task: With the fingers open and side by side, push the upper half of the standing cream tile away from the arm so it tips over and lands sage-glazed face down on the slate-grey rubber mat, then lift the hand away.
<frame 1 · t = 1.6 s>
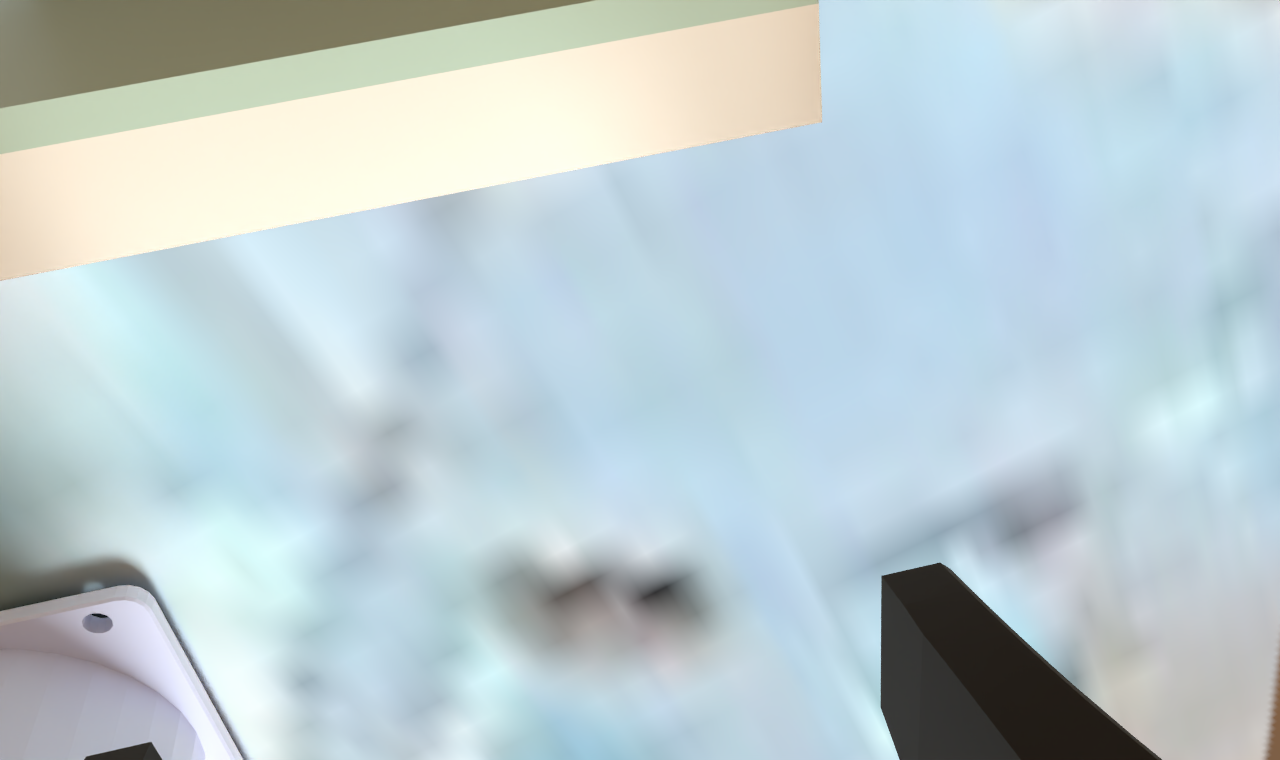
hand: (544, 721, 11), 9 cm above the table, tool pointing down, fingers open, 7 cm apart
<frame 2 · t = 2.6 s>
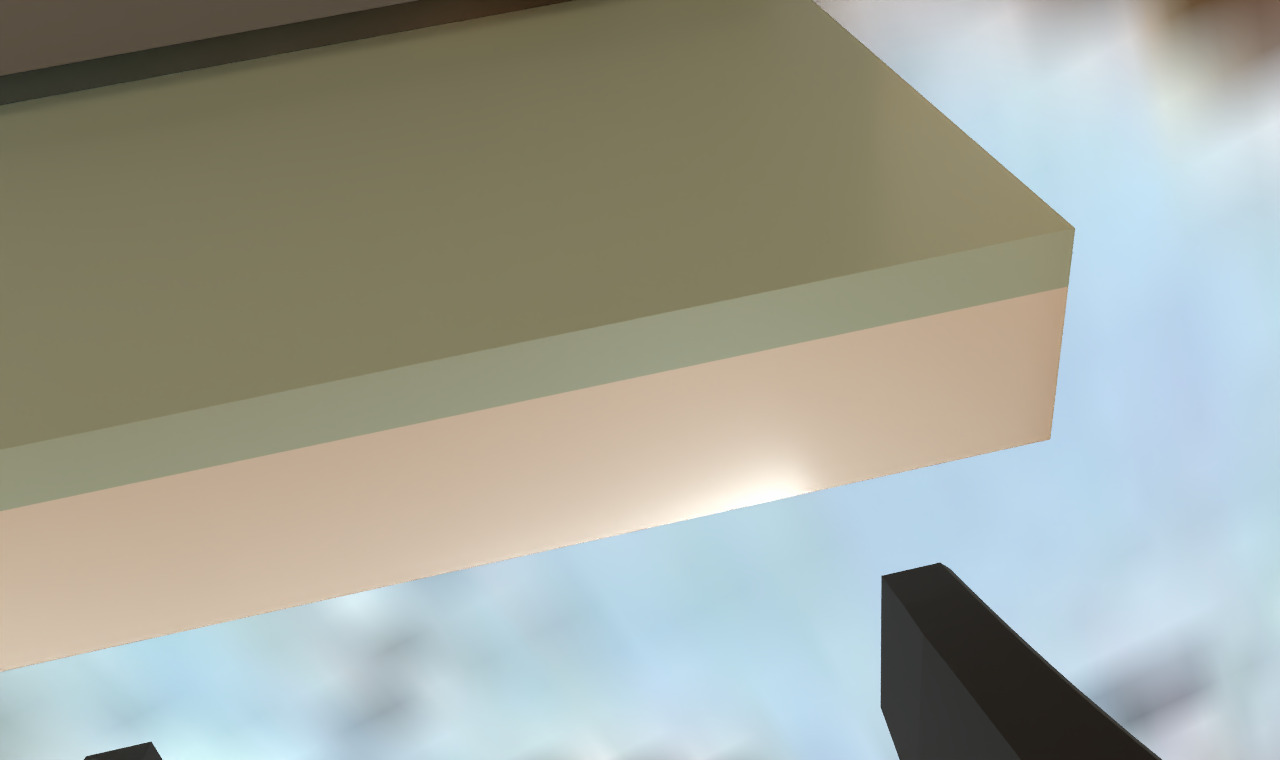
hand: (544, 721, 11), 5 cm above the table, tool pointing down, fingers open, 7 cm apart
tile: (373, 112, 12), on the table
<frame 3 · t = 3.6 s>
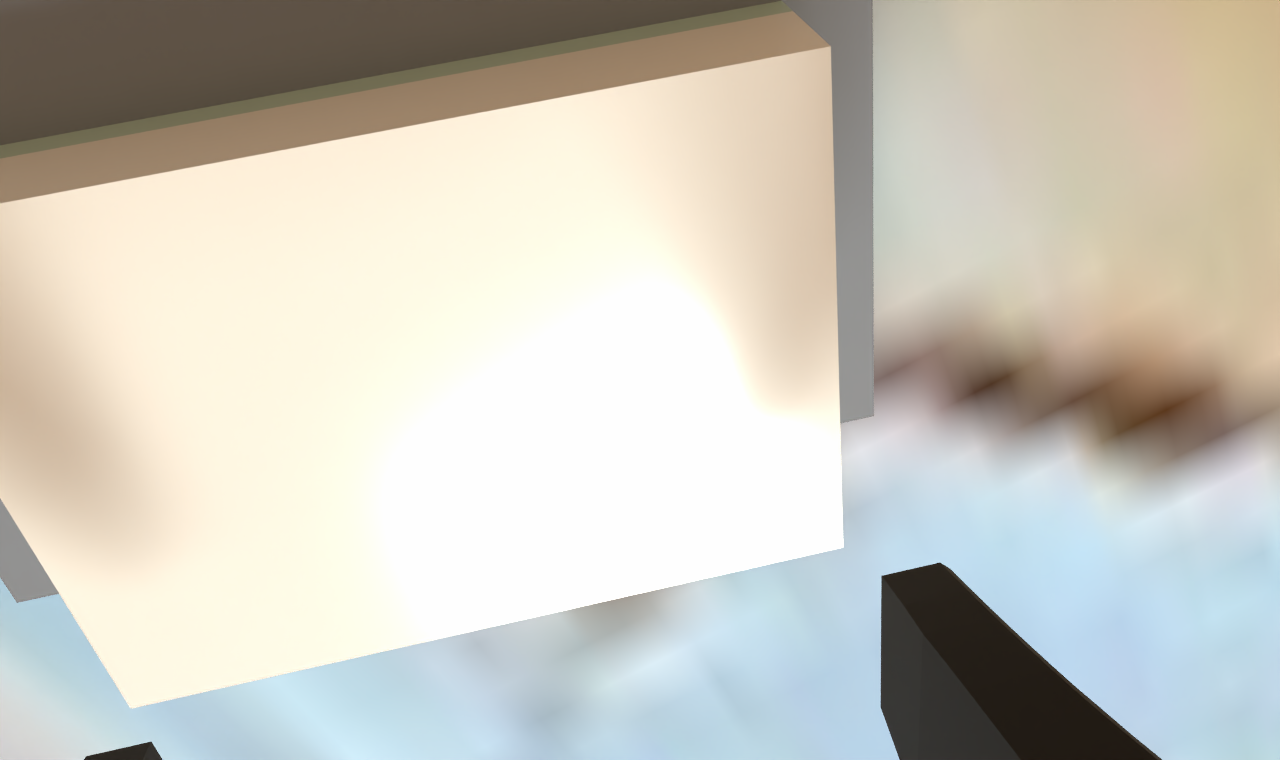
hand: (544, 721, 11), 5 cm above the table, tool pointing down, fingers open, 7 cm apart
mat: (357, 152, 12), on the table
tile: (491, 580, 14), point 1 cm above the table, tilted 90°, touching mat
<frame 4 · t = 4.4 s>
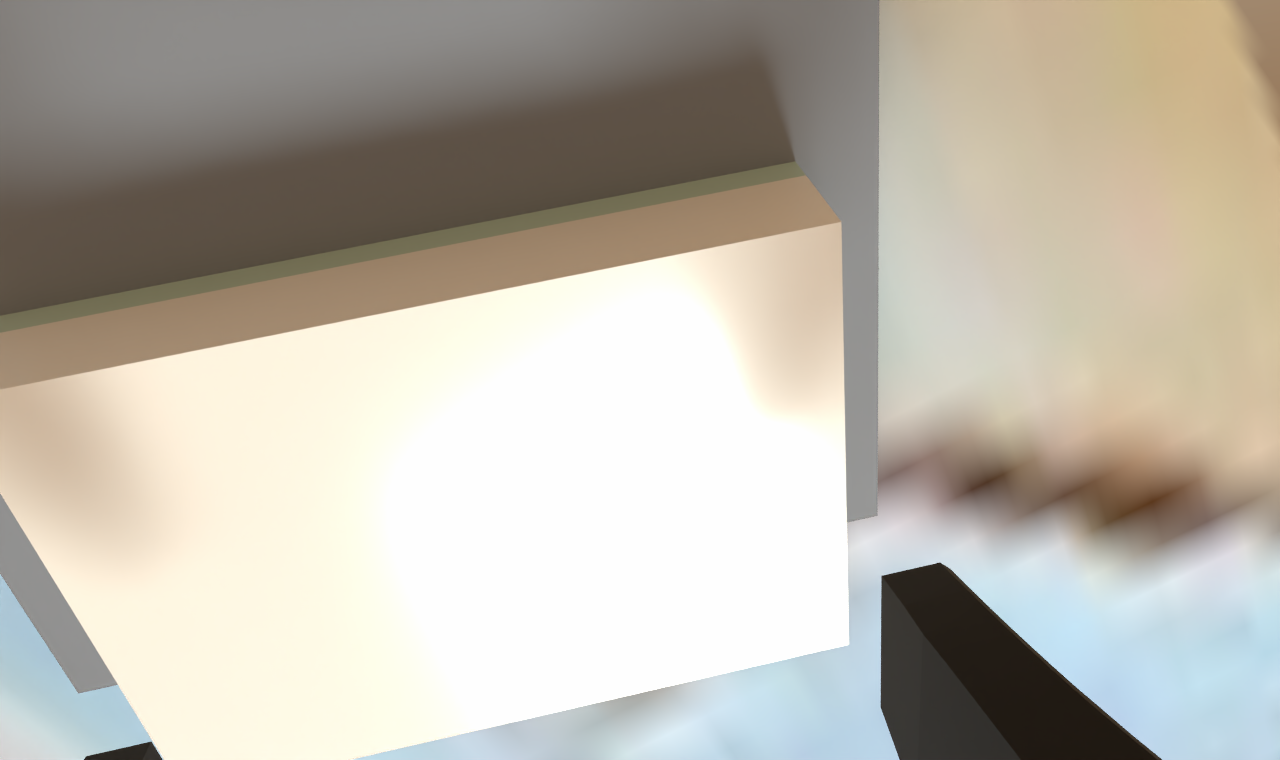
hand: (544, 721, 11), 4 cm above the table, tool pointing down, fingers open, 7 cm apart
mat: (403, 293, 13), on the table
tile: (520, 673, 15), point 1 cm above the table, tilted 90°, touching mat
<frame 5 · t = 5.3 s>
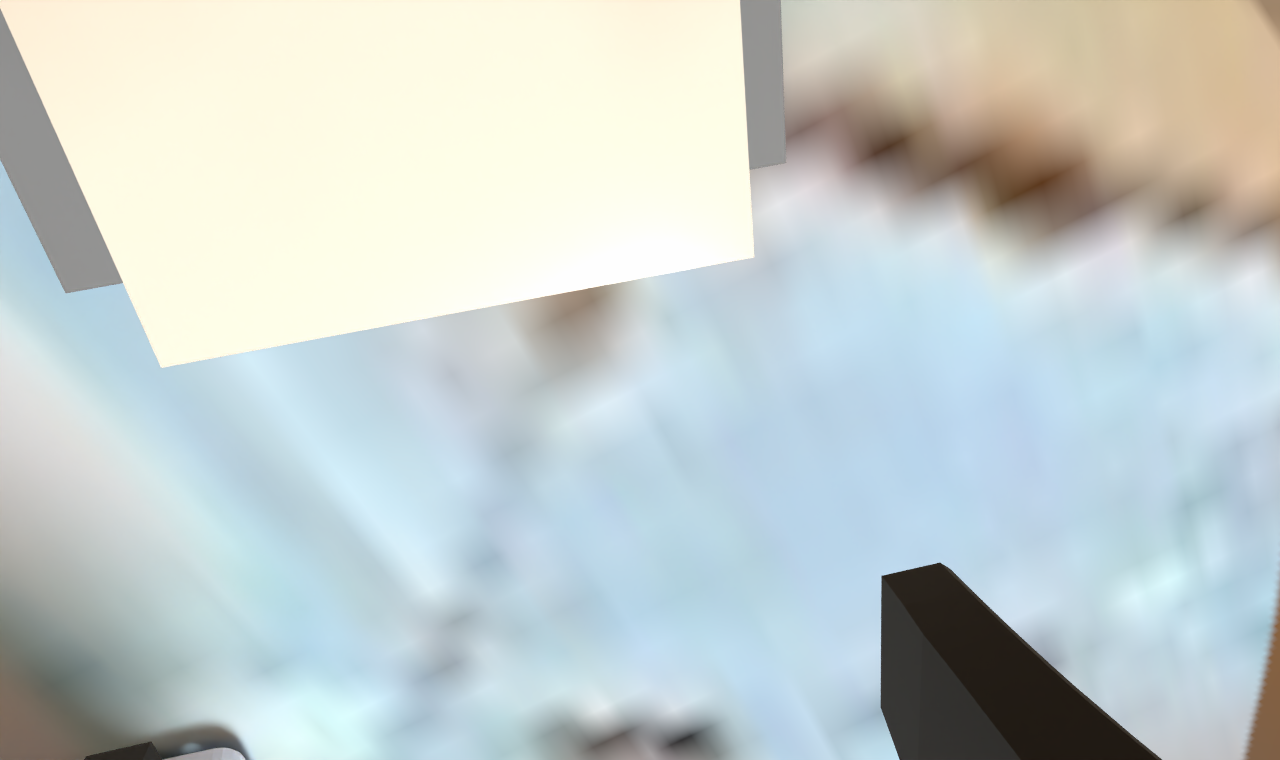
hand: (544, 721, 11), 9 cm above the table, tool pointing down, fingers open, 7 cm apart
tile: (461, 285, 17), point 1 cm above the table, tilted 90°, touching mat
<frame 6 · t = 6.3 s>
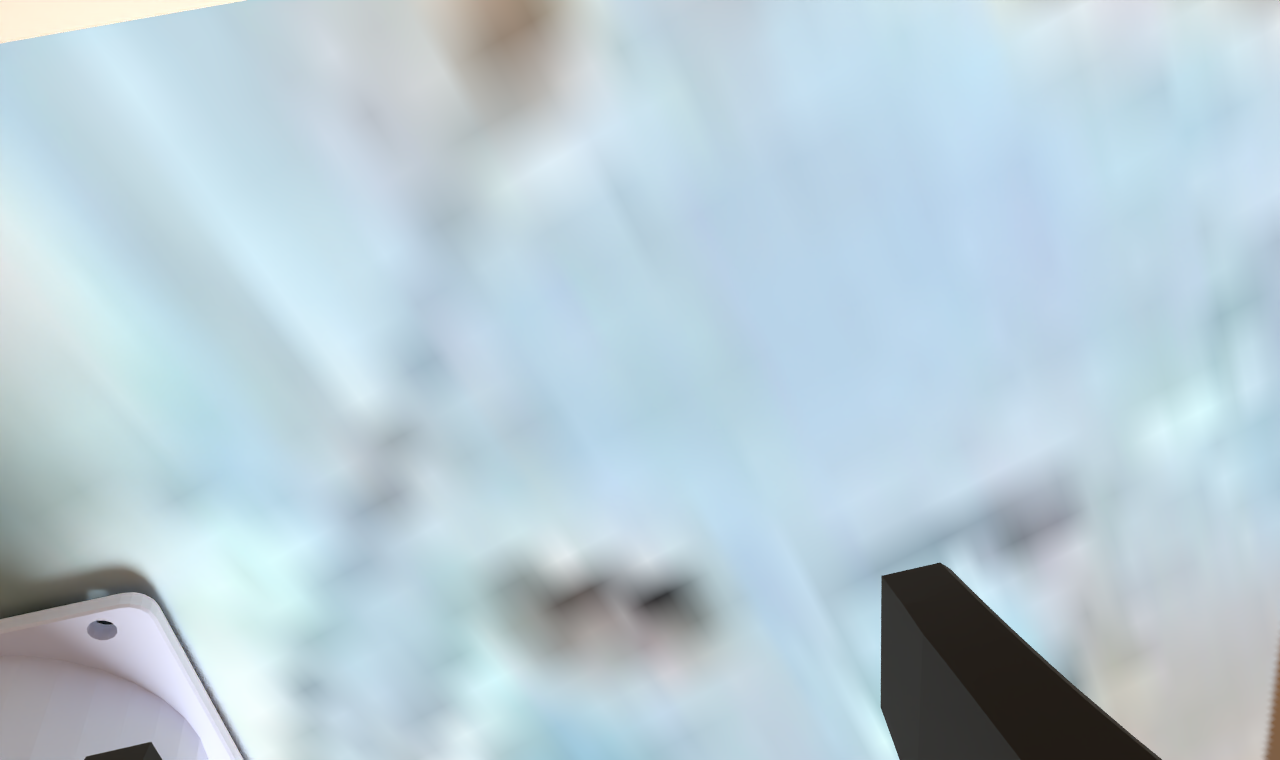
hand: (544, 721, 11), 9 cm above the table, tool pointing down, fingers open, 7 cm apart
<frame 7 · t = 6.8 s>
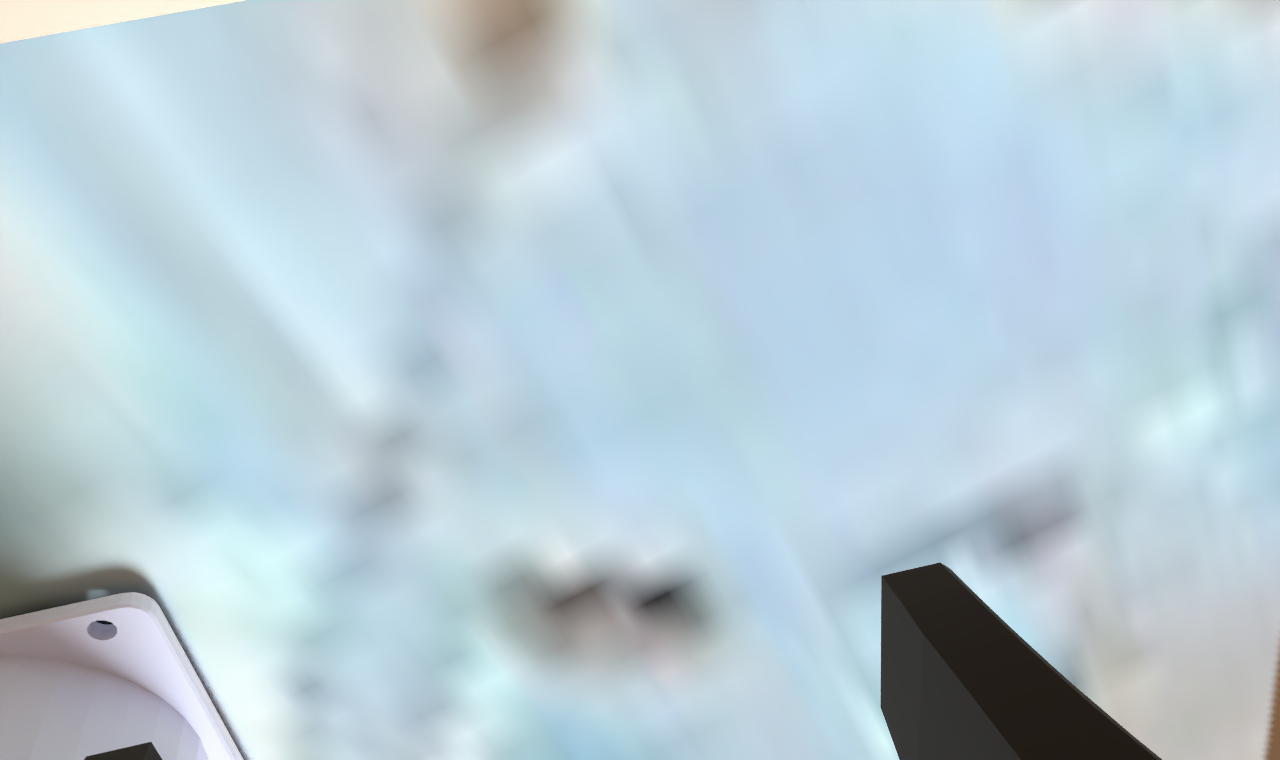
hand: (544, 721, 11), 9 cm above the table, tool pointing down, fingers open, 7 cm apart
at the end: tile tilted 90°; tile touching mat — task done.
